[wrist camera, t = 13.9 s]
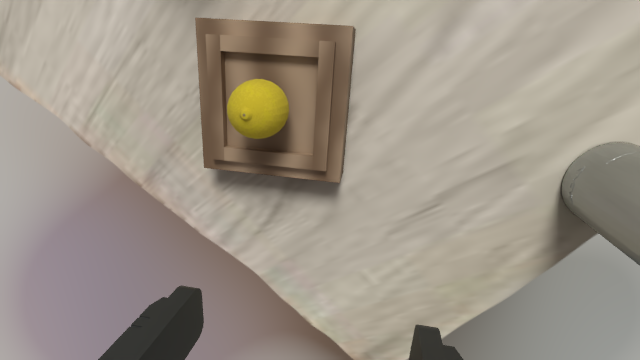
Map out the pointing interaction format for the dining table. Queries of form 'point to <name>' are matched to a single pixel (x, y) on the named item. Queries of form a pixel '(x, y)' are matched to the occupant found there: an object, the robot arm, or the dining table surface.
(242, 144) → the brown wooden crate
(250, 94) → the lemon
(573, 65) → the dining table surface
